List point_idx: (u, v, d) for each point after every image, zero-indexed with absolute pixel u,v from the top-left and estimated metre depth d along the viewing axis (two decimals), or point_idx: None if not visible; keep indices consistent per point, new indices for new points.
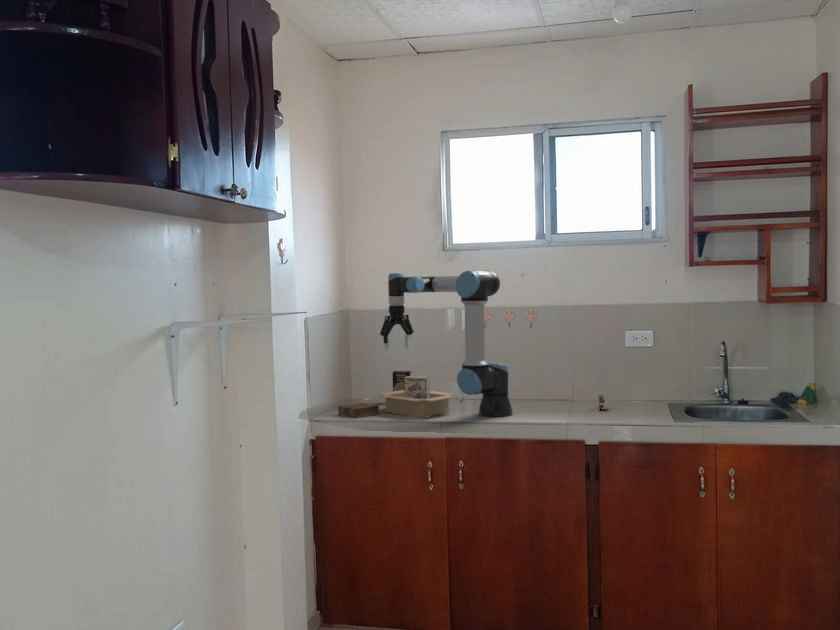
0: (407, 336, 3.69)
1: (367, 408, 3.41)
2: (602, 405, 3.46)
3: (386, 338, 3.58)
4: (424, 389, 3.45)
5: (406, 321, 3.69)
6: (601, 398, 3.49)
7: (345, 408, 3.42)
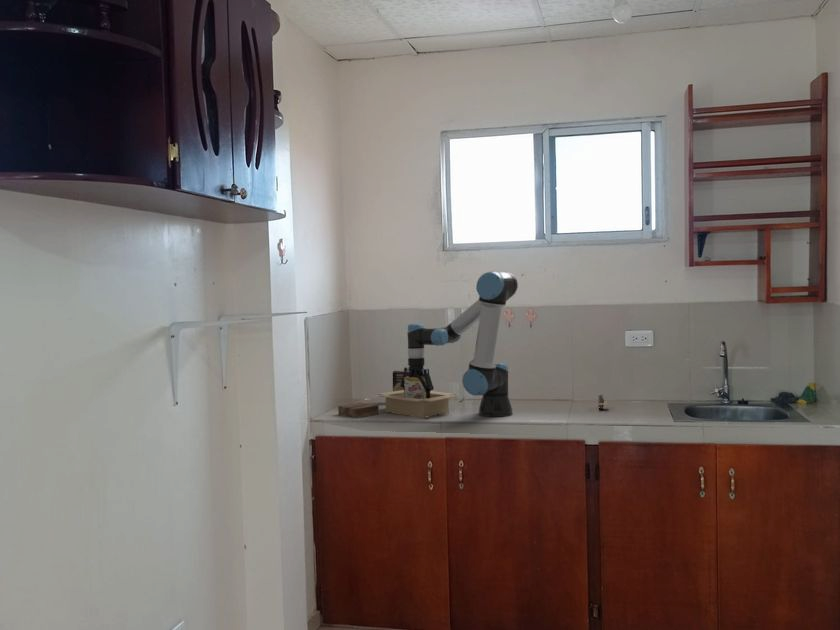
0: None
1: (367, 408, 3.41)
2: (602, 405, 3.46)
3: None
4: (424, 389, 3.45)
5: None
6: (601, 398, 3.49)
7: (345, 408, 3.42)
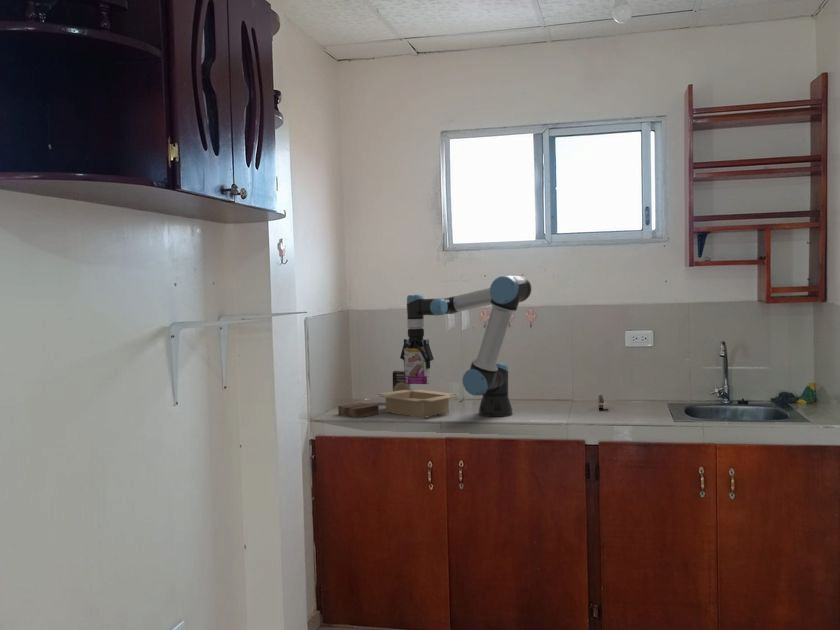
0: None
1: (367, 408, 3.41)
2: (602, 405, 3.46)
3: None
4: (424, 360, 3.44)
5: None
6: (601, 398, 3.49)
7: (345, 408, 3.42)
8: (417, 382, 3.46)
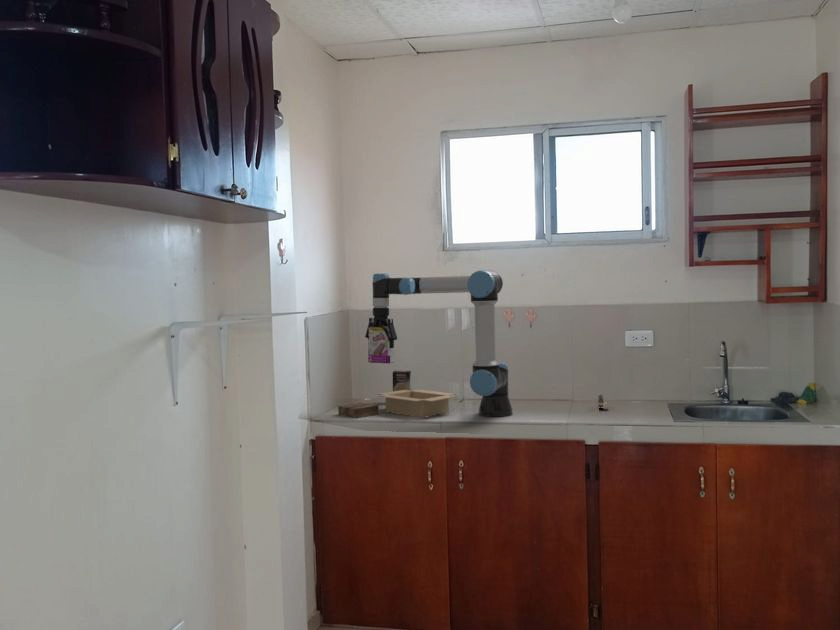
0: None
1: (367, 408, 3.41)
2: (602, 405, 3.47)
3: None
4: (388, 339, 3.42)
5: None
6: (600, 398, 3.50)
7: (345, 408, 3.42)
8: (381, 361, 3.44)
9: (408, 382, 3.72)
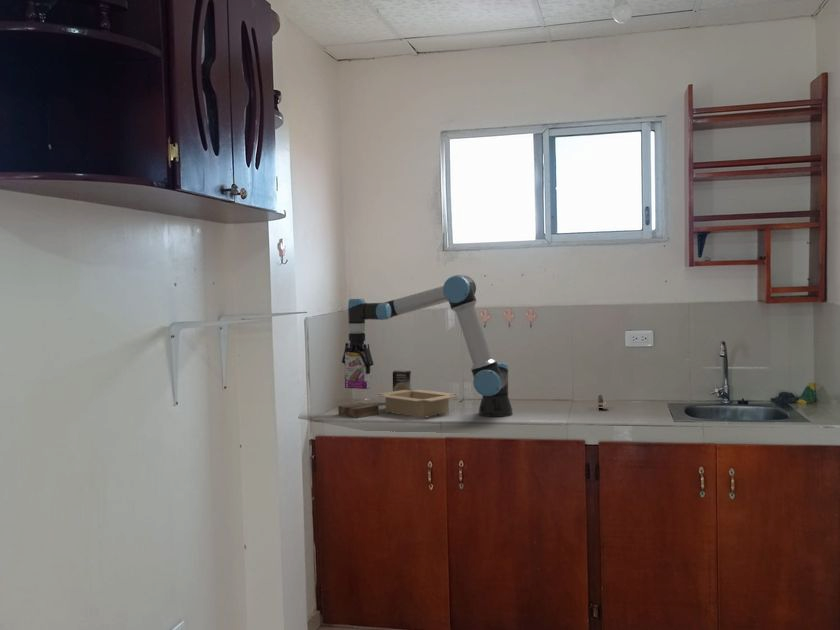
0: None
1: (367, 408, 3.41)
2: (602, 405, 3.47)
3: None
4: None
5: None
6: None
7: (345, 408, 3.42)
8: (357, 387, 3.43)
9: (408, 382, 3.72)
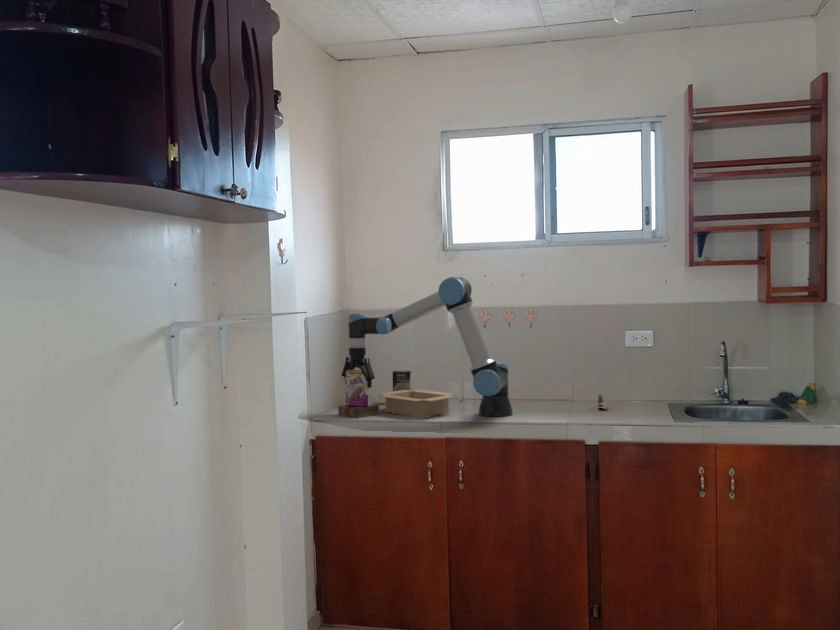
0: None
1: (367, 408, 3.41)
2: (601, 405, 3.47)
3: (345, 380, 3.50)
4: None
5: None
6: (600, 398, 3.50)
7: (345, 408, 3.42)
8: (358, 405, 3.43)
9: (408, 382, 3.72)
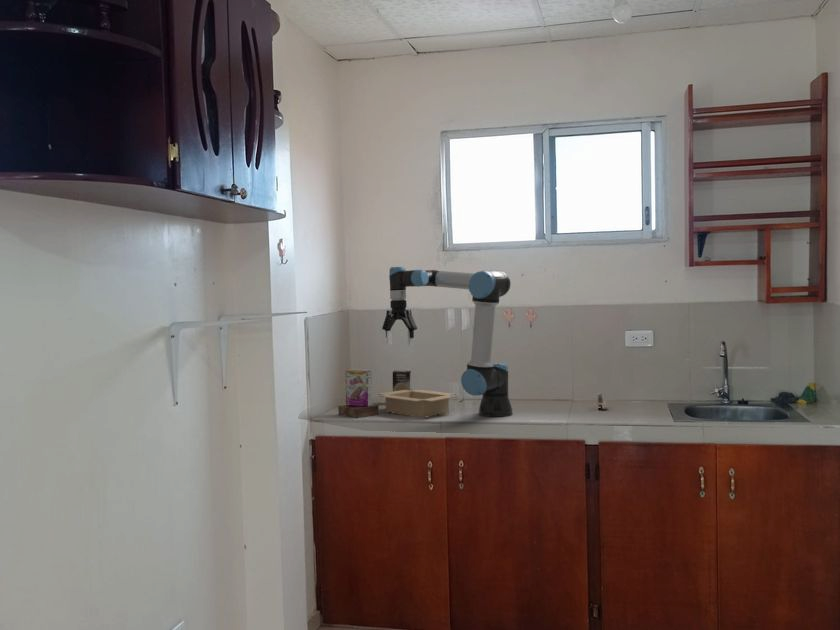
0: None
1: (367, 408, 3.41)
2: (601, 404, 3.47)
3: (386, 332, 3.60)
4: (366, 382, 3.41)
5: None
6: (600, 397, 3.50)
7: (345, 408, 3.42)
8: (358, 405, 3.43)
9: (408, 382, 3.72)
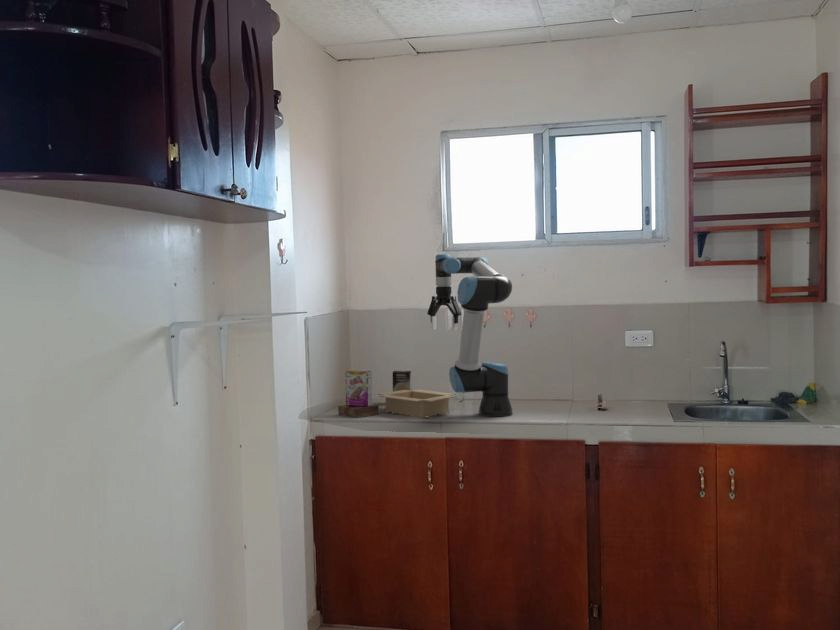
0: None
1: (367, 408, 3.41)
2: (601, 404, 3.48)
3: None
4: (366, 382, 3.41)
5: None
6: (599, 397, 3.50)
7: (345, 408, 3.42)
8: (358, 405, 3.43)
9: (408, 382, 3.72)
